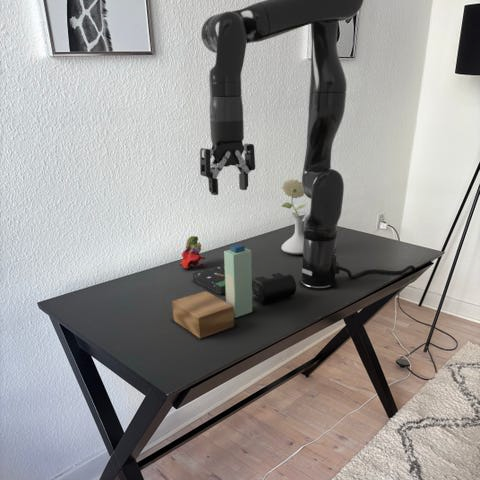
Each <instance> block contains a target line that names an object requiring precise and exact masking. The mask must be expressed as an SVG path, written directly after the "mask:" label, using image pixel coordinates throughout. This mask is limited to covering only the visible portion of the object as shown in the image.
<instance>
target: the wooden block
mask: <svg viewBox="0 0 480 480" xmlns="http://www.w3.org/2000/svg"><path fill="white" fill-rule="evenodd" d="M171 305H172V316H173V321H174V322H175V323H176V324H178V325H179V326H181V327H182V328H184V329H186V330H187V331H188V332H189V333H191V334H192V335H194V336H195V337H197V338H198V339H200V340H201V339H204V338H206V337H208V336H211V335H214V334H217V333H220V332H222V331H225V330H228V329H231V328H234V327H235V317H234V306H232V305H230V304H228V303H226V300H222V299H221V298H219V297H217V296H216V295H214V294H212V293H210V292H208V291H206V290H204V291H201V292H198V293H193V294H191V295H187V296H184V297H180V298H176V299H174V300H172V301H171Z"/></svg>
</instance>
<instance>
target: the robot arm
mask: <svg viewBox="0 0 480 480" xmlns="http://www.w3.org/2000/svg"><path fill="white" fill-rule="evenodd" d="M363 4H364V0H262V1H259V2H256V3H253V4H251V5H248V6H245V7H244V8H241V9H237V10H232V11H231V10H229V11H224V12H221V13H218V14H214V15H211V16H210V17H208V18H207V19H206V20H205V21H204V23H203V25H202V27H201V31H200V36H201V37H200V38H201V41H202V43H203V45H204V47H205V48H206V49H207V50H208V51H209V52H211V53H214V54H215V55H216V56H215V64H214V66H213V67H211V69H210V70H209V73H208V75H209V76H208V83H209V127H210V128H209V129H210V140H211V144H212V145H211V146H212V147H211V148H204V147H202V148H200V149H199V150H200V151H199V172H200V173H199V174H200V176H203V177H206V178H207V180H208V191H209V193H210V194H211V195H213V196H218V195H219V179H218V176H219V175H220V172H221V171H222V170H223V169H224V168H225V167H230V166H235V167H236V168H237V170H238V171H239V174H238V183H239V185H238V187H239V190H241V191H247V190H248V187H249V173H250V172H251V171H255V169H256V155H255V145H254V144H253V143H244V144H243V140H244V139H245V134H244V133H245V131H244V130H245V129H244V127H245V126H244V125H245V124H244V104H243V103H244V102H243V91H242V90H243V89H242V73H243V72H242V71H243V67H244V64H245V63H244V62H245V56H246V50H247V44H250V43H251V44H253V43H258V42H263V41H266V40H270V39H272V38H276V37H278V36H281V35H283V34H287V33H289V32H292V31H295V30H297V29H300V28H303V27H305V26H309V25H310V36H311V38H310V39H311V40H310V41H311V49H310V50H311V53H310V54H311V55H310V56H311V57H310V78H309V79H310V80H309V88H308V89H309V90H308V107H307V128H306V129H307V130H306V147H305V148H306V149H305V156H304V161H303V167H302V174H301V182H302V189H303V192H304V196H306V197H307V199H310V207H309V208H310V209H309V213H308V214H306V215H305V216H304V218H303V236H304V241H303V254H302V268H301V285H302V286H303V287H305V288H309V289H313V290H326V289H329V288H335V281H336V275H339V274H340V271H342V272H345V273H346V274H347V276H348V278H350V279H357V278H359V277H361V276H363V275H367V274H369V273H370V274H371V273H377V274H378V273H380V274H388V275H401V274H404V273H407V271H409V270H412V271H416V270H417V268H416V267H415V266H414V265H407V266H406V267H405V268H404V269H401V270H386V269H376V268H372V269H371V268H370V269H365V270H363V271H361V272H359V273H357V274H355V275H353V274H352V272H351V270H350V269H349V268H346V267H343V266H340V264H339V261H337V253H336V249H337V239H338V238H337V237H338V225H339V220H340V219H341V216H342V209H343V202H344V192H345V184H344V178H343V175H342V174H341V173H340V172H339V171H338V170H336V169H334V168H332V165H331V164H332V151H333V145H334V142H335V138H336V136H337V134H338V131H339V129H340V127H341V124H342V121H343V118H344V115H345V110H346V103H347V102H346V101H347V90H348V89H347V88H348V87H347V86H348V85H347V78H346V74H345V71H344V68H343V64H342V61H341V59H340V56H339V52H338V44H337V43H338V42H337V40H338V26H339V22H343V21H347V20H349V19H351V18H353V17H354V16H356V15H357V14H358V13H359V11H360V10H361V8H362V6H363ZM243 154H244V157H243ZM212 158H213V159H212ZM211 159H212V161H211Z"/></svg>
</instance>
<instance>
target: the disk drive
mask: <svg viewBox="0 0 480 480" xmlns="http://www.w3.org/2000/svg"><path fill="white" fill-rule="evenodd" d="M192 279H193V281H194V282H196V283H198V284H200V285H202V286H203V287H205V288H207V289H209V290H211V291H213V292H215V293H217V294H218V295H223V294H226V287H225V266H222V265H217V266H213V267H210V268H206V269H204V270H203V271H199V270H198V271H195V272H193V273H192Z"/></svg>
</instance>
